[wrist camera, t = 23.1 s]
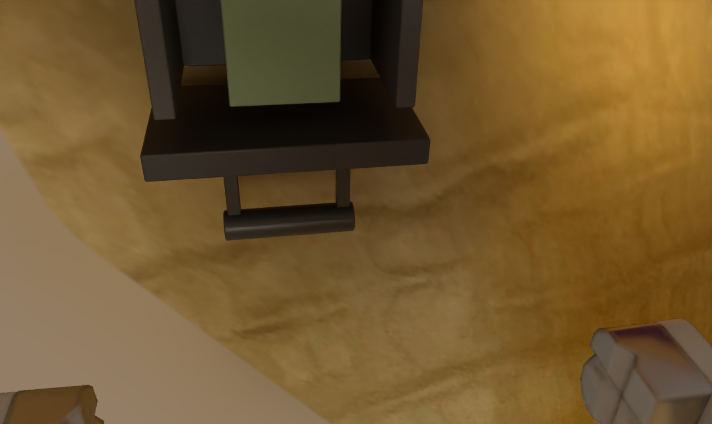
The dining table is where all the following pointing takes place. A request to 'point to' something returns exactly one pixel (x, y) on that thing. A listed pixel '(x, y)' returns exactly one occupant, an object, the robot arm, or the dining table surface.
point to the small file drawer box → (280, 113)
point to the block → (282, 51)
